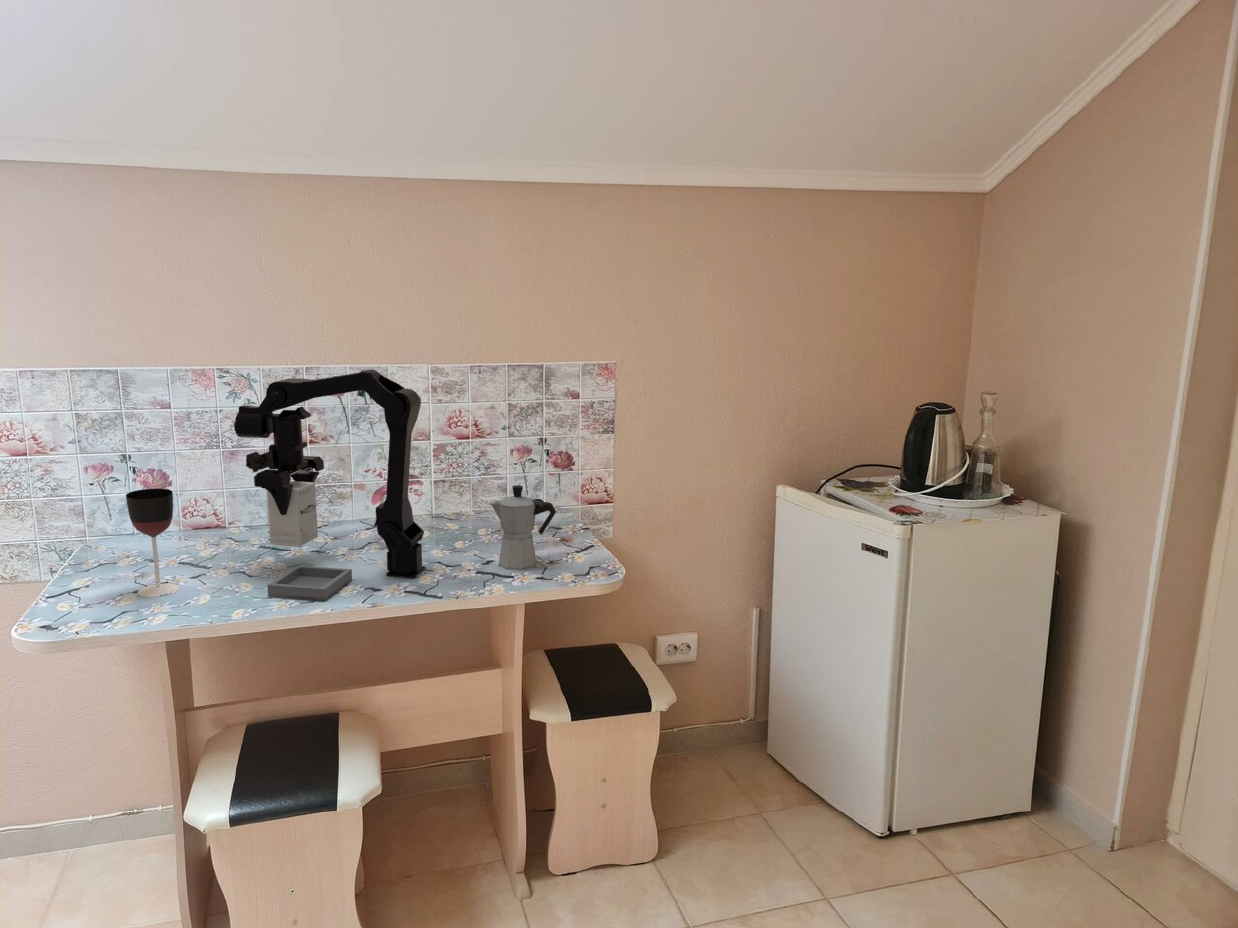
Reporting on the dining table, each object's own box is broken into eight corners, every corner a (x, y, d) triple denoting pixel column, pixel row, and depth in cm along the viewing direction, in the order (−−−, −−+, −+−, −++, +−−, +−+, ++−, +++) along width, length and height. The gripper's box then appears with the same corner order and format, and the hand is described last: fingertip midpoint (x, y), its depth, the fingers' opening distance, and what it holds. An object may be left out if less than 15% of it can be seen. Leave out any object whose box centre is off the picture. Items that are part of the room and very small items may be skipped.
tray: (352, 580, 181) (351, 569, 181) (325, 601, 169) (324, 589, 169) (298, 576, 183) (298, 565, 182) (268, 596, 171) (267, 584, 171)
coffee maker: (485, 569, 190) (485, 489, 186) (492, 556, 199) (492, 480, 195) (553, 571, 190) (554, 492, 186) (557, 558, 198) (558, 482, 194)
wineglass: (169, 579, 179) (160, 486, 175) (188, 590, 174) (180, 493, 169) (128, 589, 173) (118, 493, 169) (147, 600, 168) (137, 501, 163)
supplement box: (300, 547, 183) (297, 489, 180) (269, 544, 185) (265, 487, 182) (319, 537, 190) (316, 481, 188) (289, 535, 192) (285, 479, 189)
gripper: (276, 429, 193) (280, 497, 196) (227, 445, 175) (233, 519, 178) (323, 431, 191) (327, 499, 194) (278, 448, 173) (283, 522, 176)
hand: (292, 510), depth 186 cm, fingers closed on supplement box, 7 cm apart
